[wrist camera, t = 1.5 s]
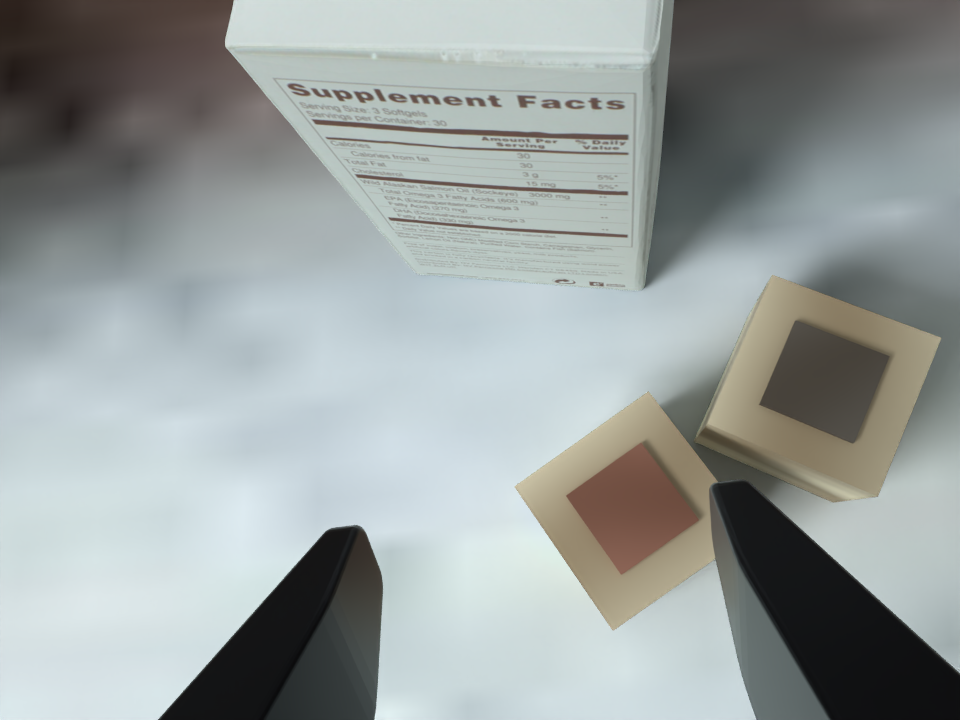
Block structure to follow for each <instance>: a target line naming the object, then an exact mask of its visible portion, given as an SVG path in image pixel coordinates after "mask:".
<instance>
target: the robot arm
mask: <svg viewBox="0 0 960 720" xmlns="http://www.w3.org/2000/svg"><path fill="white" fill-rule="evenodd" d="M709 501H710V516H711V531H712V542H713V548H714V553H715V558H716V563H717V567H718V572H719V576H720V581H721V585H722V590H723V595H724V599H725V604H726V608H727V613H728V617H729V622H730V626H731V631H732V635H733V640H734V645H735V649H736V654H737V658H738V662H739V666H740V670H741V674H742V678H743V681H744V684H745V687H746V690H747V693H748V696H749V700H750V702H751V705H752V708H753V711H754V714H755V717H756V719H757V720H960V673H959V672H958V671H957V670H956V669H954V668H953V667H952V666H951V665H950V664H949V663H948V662H947V661H946V660H945V659H943V658H942V657H941V656H940V655H939V654H938V653H937V652H936V651H935V650H934V649H932V648H931V647H930V646H929V645H928V644H927V643H926V642H925V641H924V640H923V639H921V638H920V637H919V636H918V635H917V634H916V633H915V632H914V631H913V630H912V629H910V628H909V627H908V626H907V625H906V624H905V623H904V622H903V621H902V620H901V619H899V618H898V617H897V616H896V615H895V614H894V613H893V612H892V611H891V610H890V609H888V608H887V607H886V606H885V605H884V604H883V603H882V602H881V601H880V600H879V599H877V598H876V597H875V596H874V595H873V594H872V593H871V592H870V591H869V590H867V589H866V588H865V587H864V586H863V585H862V584H861V583H860V582H859V581H858V580H856V579H855V578H854V577H853V576H852V575H851V574H850V573H849V572H848V571H847V570H845V569H844V568H843V567H842V566H841V565H840V564H839V563H838V562H837V561H836V560H834V559H833V558H832V557H831V556H830V555H829V554H828V553H827V552H826V551H825V550H823V549H822V548H821V547H820V546H819V545H818V544H817V543H816V542H815V541H814V540H812V539H811V538H810V537H809V536H808V535H807V534H806V533H805V532H804V531H803V530H801V529H800V528H799V527H798V526H797V525H796V524H795V523H794V522H793V521H792V520H790V519H789V518H788V517H787V516H786V515H785V514H784V513H783V512H782V511H781V510H779V509H778V508H777V507H776V506H775V505H774V504H773V503H772V502H771V501H770V500H768V499H767V498H766V497H765V496H764V495H763V494H762V493H761V492H760V491H759V490H757V489H756V488H755V487H754V486H753V485H752V484H751V483H750V482H748V481H746V480H732V481H724V482H715V483H713V484H712V485H711V486H710V488H709ZM382 597H383V582H382V575H381V571H380V568H379V566H378V563H377V561H376V558H375V555H374V553H373V550H372V548H371V545H370V542H369V540H368V537H367V535H366V532H365V531H364V529H363V528H362V527H360V526H358V525H353V526H344V527H336V528H331V529H329V530H327V531H326V532H325V533H324V534H323V535H322V536H321V537H320V538H319V539H318V540H317V542H316V543H315V544H314V545H313V546H312V547H311V548H310V549H309V551H308V552H307V553H306V554H305V555H304V556H303V557H302V558H301V560H300V561H299V562H298V563H297V564H296V565H295V566H294V567H293V569H292V570H291V571H290V572H289V573H288V574H287V575H286V576H285V578H284V579H283V580H282V581H281V582H280V583H279V584H278V585H277V587H276V588H275V589H274V590H273V591H272V592H271V593H270V594H269V596H268V597H267V598H266V599H265V600H264V601H263V602H262V603H261V605H260V606H259V607H258V608H257V609H256V610H255V611H254V612H253V614H252V615H251V616H250V617H249V618H248V619H247V620H246V621H245V623H244V624H243V625H242V626H241V627H240V628H239V629H238V630H237V632H236V633H235V634H234V635H233V636H232V637H231V638H230V639H229V641H228V642H227V643H226V644H225V645H224V646H223V647H222V648H221V650H220V651H219V652H218V653H217V654H216V655H215V656H214V657H213V659H212V660H211V661H210V662H209V663H208V664H207V665H206V666H205V668H204V669H203V670H202V671H201V672H200V673H199V674H198V675H197V677H196V678H195V679H194V680H193V681H192V682H191V683H190V684H189V686H188V687H187V688H186V689H185V690H184V691H183V692H182V693H181V695H180V696H179V697H178V698H177V699H176V700H175V701H174V702H173V704H172V705H171V706H170V707H169V708H168V709H167V710H166V711H165V713H164V714H163V715H162V716H161V717H160V718H159V719H158V720H374V718H375V711H376V700H377V687H378V669H379V651H380V633H381V615H382Z"/></svg>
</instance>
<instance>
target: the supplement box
mask: <svg viewBox="0 0 960 720" xmlns="http://www.w3.org/2000/svg"><path fill="white" fill-rule="evenodd" d="M673 8H674V0H234V3H233V8H232V12H231V17H230V21H229V26H228V30H227V34H226V38H225V46H226V48H227V49H228V50H229V51H230V53H231V54H232V55H233V56H234V57H235V58H236V59H237V61H238V62H239V63H240V64H241V65H242V67H243V68H244V69H245V70H246V71H247V73H248V74H249V75H250V76H251V77H252V79H253V80H254V81H255V82H256V83H257V85H258V86H259V87H260V88H261V89H262V91H263V92H264V93H265V94H266V96H267V97H268V98H269V99H270V100H271V102H272V103H273V104H274V105H275V106H276V107H277V109H278V110H279V111H280V112H281V113H282V114H283V116H284V117H285V118H286V119H287V120H288V122H289V123H290V124H291V125H292V126H293V128H294V129H295V130H296V131H297V133H298V134H299V135H300V136H301V138H302V139H303V140H304V141H305V142H306V144H307V145H308V146H309V147H310V148H311V150H312V151H313V152H314V153H315V154H316V156H317V157H318V158H319V159H320V160H321V162H322V163H323V164H324V165H325V166H326V168H327V169H328V170H329V171H330V172H331V173H332V175H333V176H334V177H335V178H336V179H337V180H338V182H339V183H340V184H341V185H342V187H343V188H344V189H345V190H346V191H347V193H348V194H349V195H350V196H351V197H352V199H353V200H354V201H355V202H356V203H357V205H358V206H359V207H360V208H361V209H362V210H363V212H364V213H365V214H366V215H367V216H368V218H369V219H370V220H371V221H372V222H373V224H374V225H375V227H376V228H377V229H378V230H379V231H380V232H381V233H382V234H383V235H384V237H385V238H386V239H387V240H388V242H389V243H390V244H391V245H392V247H393V248H394V249H395V250H396V251H397V253H398V254H399V255H400V256H401V257H402V258H403V260H404V261H405V262H406V263H407V264H408V266H409V267H410V268H411V269H412V270H413V271H414V272H415V273H416V274H418V275H436V276H447V277H459V278H474V279H484V280H499V281H511V282H524V283H536V284H550V285H561V286H574V287H588V288H605V289H615V290H629V291H641V290H642V289H643V288H644V286H645V280H646V273H647V266H648V260H649V253H650V246H651V238H652V231H653V223H654V215H655V208H656V200H657V191H658V182H659V172H660V162H661V150H662V138H663V126H664V114H665V102H666V90H667V78H668V67H669V55H670V44H671V32H672V20H673Z"/></svg>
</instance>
